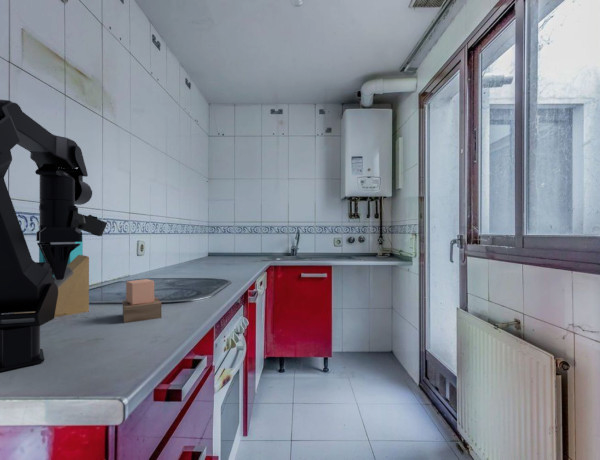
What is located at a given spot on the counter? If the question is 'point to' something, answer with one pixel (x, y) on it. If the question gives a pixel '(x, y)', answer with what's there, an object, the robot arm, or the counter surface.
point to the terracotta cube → (139, 291)
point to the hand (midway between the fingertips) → (57, 277)
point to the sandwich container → (73, 288)
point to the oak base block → (141, 311)
